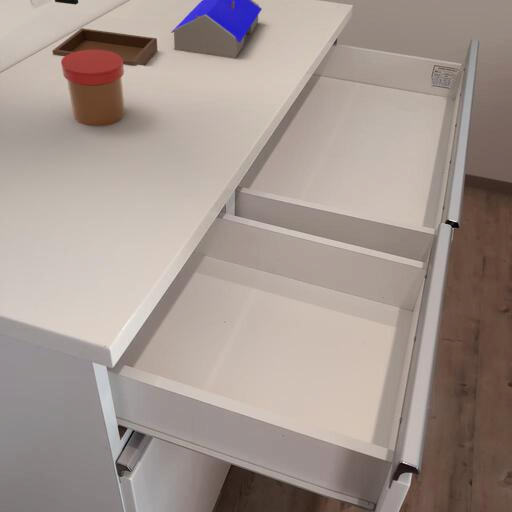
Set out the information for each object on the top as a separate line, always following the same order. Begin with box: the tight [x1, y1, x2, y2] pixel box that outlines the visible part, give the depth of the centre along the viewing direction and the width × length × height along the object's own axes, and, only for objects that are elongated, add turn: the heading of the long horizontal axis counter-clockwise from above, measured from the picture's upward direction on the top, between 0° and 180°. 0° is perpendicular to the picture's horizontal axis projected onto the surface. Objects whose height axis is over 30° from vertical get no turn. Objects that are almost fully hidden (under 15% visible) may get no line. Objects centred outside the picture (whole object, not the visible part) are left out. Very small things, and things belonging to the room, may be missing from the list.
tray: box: [51, 27, 158, 67], centre depth 102 cm, size 15×12×2 cm
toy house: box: [170, 0, 263, 59], centre depth 113 cm, size 22×14×7 cm, turn 168°
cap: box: [60, 50, 125, 85], centre depth 78 cm, size 8×8×2 cm
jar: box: [66, 76, 126, 127], centre depth 80 cm, size 8×8×10 cm
